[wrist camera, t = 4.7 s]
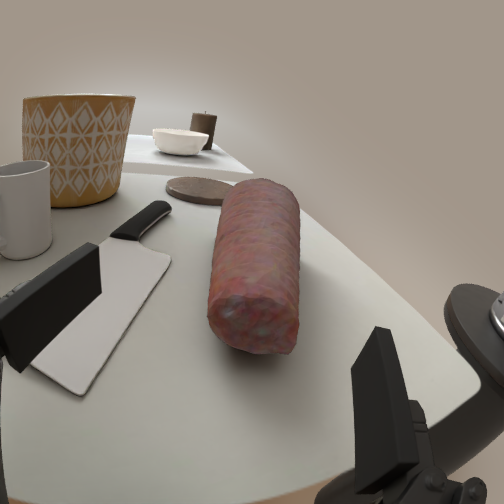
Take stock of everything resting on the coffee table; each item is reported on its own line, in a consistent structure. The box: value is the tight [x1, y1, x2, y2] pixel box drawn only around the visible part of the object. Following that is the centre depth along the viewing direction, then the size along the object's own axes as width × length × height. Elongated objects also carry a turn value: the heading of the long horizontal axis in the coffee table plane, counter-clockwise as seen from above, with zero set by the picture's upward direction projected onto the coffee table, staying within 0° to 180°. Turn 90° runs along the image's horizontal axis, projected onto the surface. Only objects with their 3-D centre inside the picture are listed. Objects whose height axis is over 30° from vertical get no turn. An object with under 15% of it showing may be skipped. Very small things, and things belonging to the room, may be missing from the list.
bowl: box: [153, 129, 209, 155], centre depth 87 cm, size 18×18×7 cm
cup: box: [0, 160, 52, 260], centre depth 22 cm, size 7×10×9 cm
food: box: [207, 178, 300, 354], centre depth 27 cm, size 21×10×9 cm, turn 2°
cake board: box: [166, 177, 233, 205], centre depth 54 cm, size 14×14×1 cm
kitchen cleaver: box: [30, 201, 172, 396], centre depth 27 cm, size 31×2×10 cm
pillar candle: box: [190, 113, 217, 150], centre depth 106 cm, size 10×10×15 cm
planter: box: [22, 94, 136, 207], centre depth 38 cm, size 19×19×16 cm
